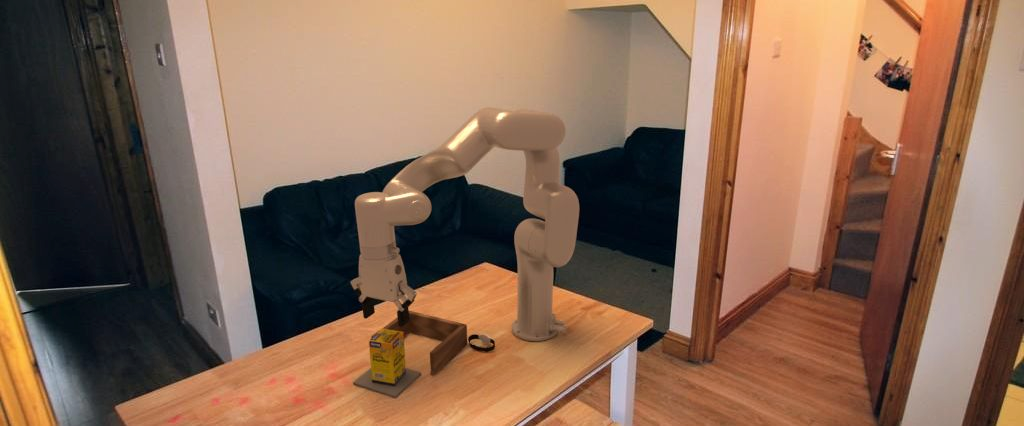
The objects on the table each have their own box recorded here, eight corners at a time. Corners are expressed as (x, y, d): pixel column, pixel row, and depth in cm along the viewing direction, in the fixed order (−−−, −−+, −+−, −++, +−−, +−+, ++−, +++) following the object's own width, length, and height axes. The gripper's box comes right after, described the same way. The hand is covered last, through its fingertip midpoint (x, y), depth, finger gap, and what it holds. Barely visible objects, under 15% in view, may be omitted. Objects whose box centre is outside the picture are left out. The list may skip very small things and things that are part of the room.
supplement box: (395, 386, 121) (392, 344, 118) (371, 382, 123) (367, 340, 119) (406, 372, 127) (404, 331, 123) (384, 368, 128) (380, 327, 125)
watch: (498, 347, 139) (498, 334, 138) (489, 356, 135) (489, 343, 134) (473, 339, 142) (473, 327, 141) (464, 348, 138) (463, 335, 137)
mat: (421, 374, 127) (421, 372, 127) (395, 398, 118) (395, 396, 118) (380, 362, 132) (380, 360, 131) (353, 384, 123) (352, 382, 123)
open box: (467, 345, 139) (466, 324, 138) (435, 375, 126) (434, 353, 125) (409, 329, 147) (407, 310, 145) (373, 357, 134) (371, 336, 132)
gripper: (421, 249, 115) (427, 319, 120) (358, 238, 122) (367, 305, 127) (400, 262, 109) (408, 335, 114) (335, 250, 116) (345, 320, 121)
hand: (386, 319), depth 121 cm, fingers open, 9 cm apart
